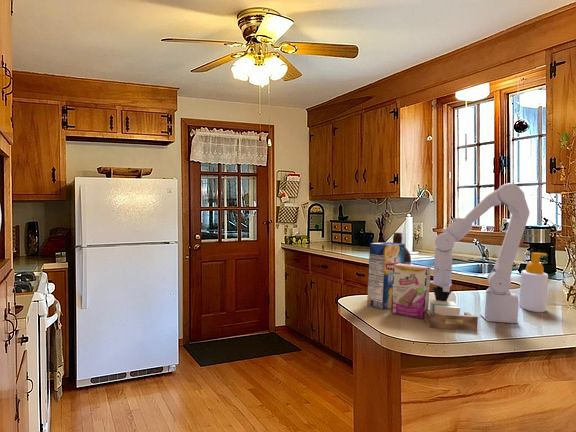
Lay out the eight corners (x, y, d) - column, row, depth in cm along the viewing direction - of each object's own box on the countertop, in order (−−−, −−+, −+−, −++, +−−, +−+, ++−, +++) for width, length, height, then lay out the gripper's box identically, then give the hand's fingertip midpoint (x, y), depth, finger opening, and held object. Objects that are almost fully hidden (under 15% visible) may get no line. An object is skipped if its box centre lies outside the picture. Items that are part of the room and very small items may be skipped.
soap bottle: (550, 313, 166) (554, 255, 165) (525, 311, 167) (528, 254, 166) (538, 305, 178) (542, 251, 178) (515, 303, 180) (518, 250, 179)
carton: (452, 315, 158) (453, 301, 157) (459, 322, 149) (460, 308, 149) (429, 313, 159) (430, 300, 158) (434, 320, 150) (435, 306, 149)
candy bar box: (390, 314, 156) (392, 264, 155) (395, 311, 160) (397, 262, 160) (424, 319, 150) (427, 268, 150) (428, 316, 155) (431, 266, 154)
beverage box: (366, 305, 167) (369, 243, 166) (386, 301, 174) (389, 242, 173) (382, 309, 162) (385, 245, 161) (401, 305, 169) (405, 244, 168)
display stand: (468, 322, 149) (469, 309, 149) (477, 330, 140) (478, 317, 140) (424, 319, 151) (425, 306, 151) (430, 327, 141) (431, 314, 141)
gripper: (426, 265, 167) (424, 303, 167) (434, 271, 152) (432, 313, 153) (447, 266, 166) (445, 304, 166) (457, 273, 151) (455, 315, 152)
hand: (440, 309), depth 160 cm, fingers closed
